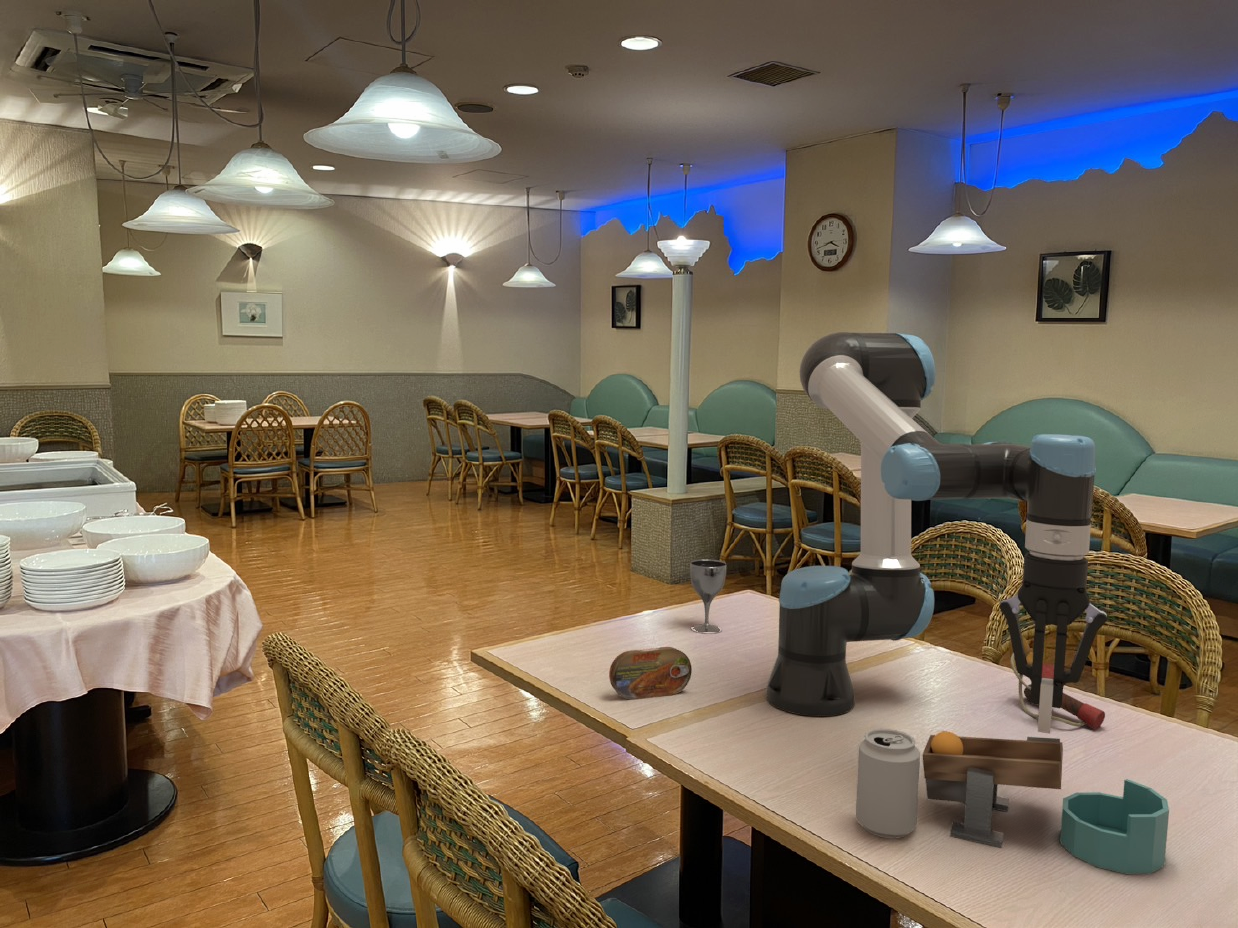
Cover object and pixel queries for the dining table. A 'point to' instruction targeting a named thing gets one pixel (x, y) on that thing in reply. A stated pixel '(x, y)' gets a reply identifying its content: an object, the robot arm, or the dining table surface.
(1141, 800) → the teal container
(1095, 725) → the slingshot
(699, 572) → the wine glass
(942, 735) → the ball
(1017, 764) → the lever
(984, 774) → the stand
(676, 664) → the tin
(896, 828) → the can
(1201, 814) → the dining table surface
